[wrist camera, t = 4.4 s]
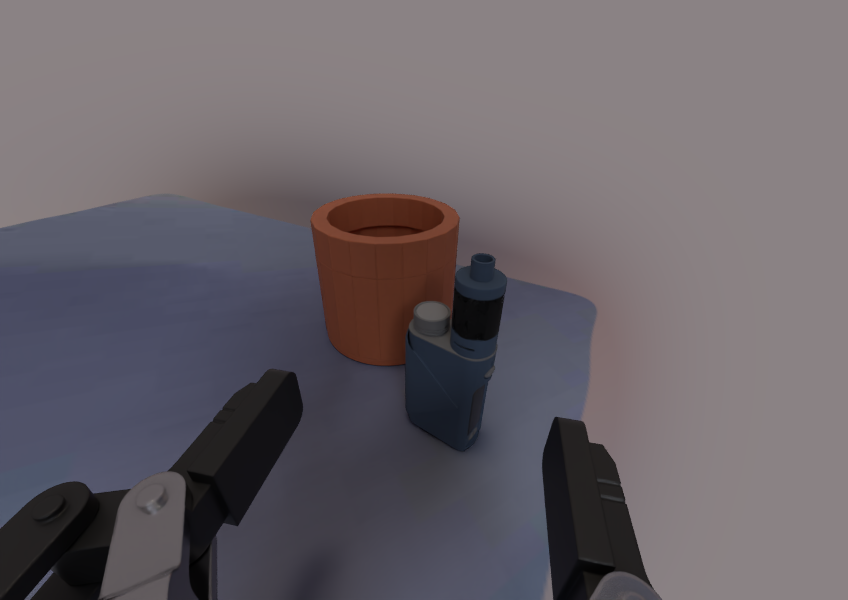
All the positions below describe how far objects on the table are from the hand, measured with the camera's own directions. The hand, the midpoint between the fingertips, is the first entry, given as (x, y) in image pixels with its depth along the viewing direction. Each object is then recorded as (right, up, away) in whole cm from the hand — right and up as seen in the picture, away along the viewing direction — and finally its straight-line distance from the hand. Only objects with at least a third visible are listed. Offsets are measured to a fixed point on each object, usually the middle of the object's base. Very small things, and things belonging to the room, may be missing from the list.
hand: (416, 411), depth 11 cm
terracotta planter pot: (-3, +1, +21) cm, 21 cm away
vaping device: (+1, -5, +12) cm, 13 cm away
